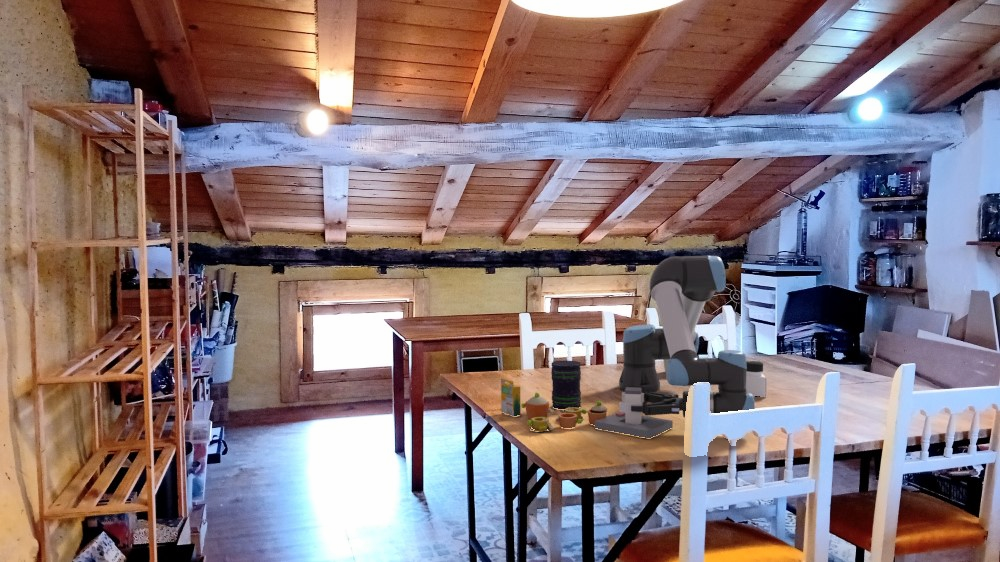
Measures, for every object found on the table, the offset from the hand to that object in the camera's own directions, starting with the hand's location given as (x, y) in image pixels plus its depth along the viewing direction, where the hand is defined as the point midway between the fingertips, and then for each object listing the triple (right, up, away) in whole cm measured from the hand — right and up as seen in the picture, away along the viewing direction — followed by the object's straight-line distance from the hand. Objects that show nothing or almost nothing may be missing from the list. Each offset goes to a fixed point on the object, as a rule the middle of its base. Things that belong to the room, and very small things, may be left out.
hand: (620, 401), depth 202 cm
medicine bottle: (+54, -5, +39) cm, 67 cm away
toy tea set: (-16, -8, +7) cm, 19 cm away
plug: (+4, -8, 0) cm, 9 cm away
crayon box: (-32, -8, +19) cm, 38 cm away
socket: (+4, -8, 0) cm, 9 cm away
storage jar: (-13, -7, +27) cm, 31 cm away
